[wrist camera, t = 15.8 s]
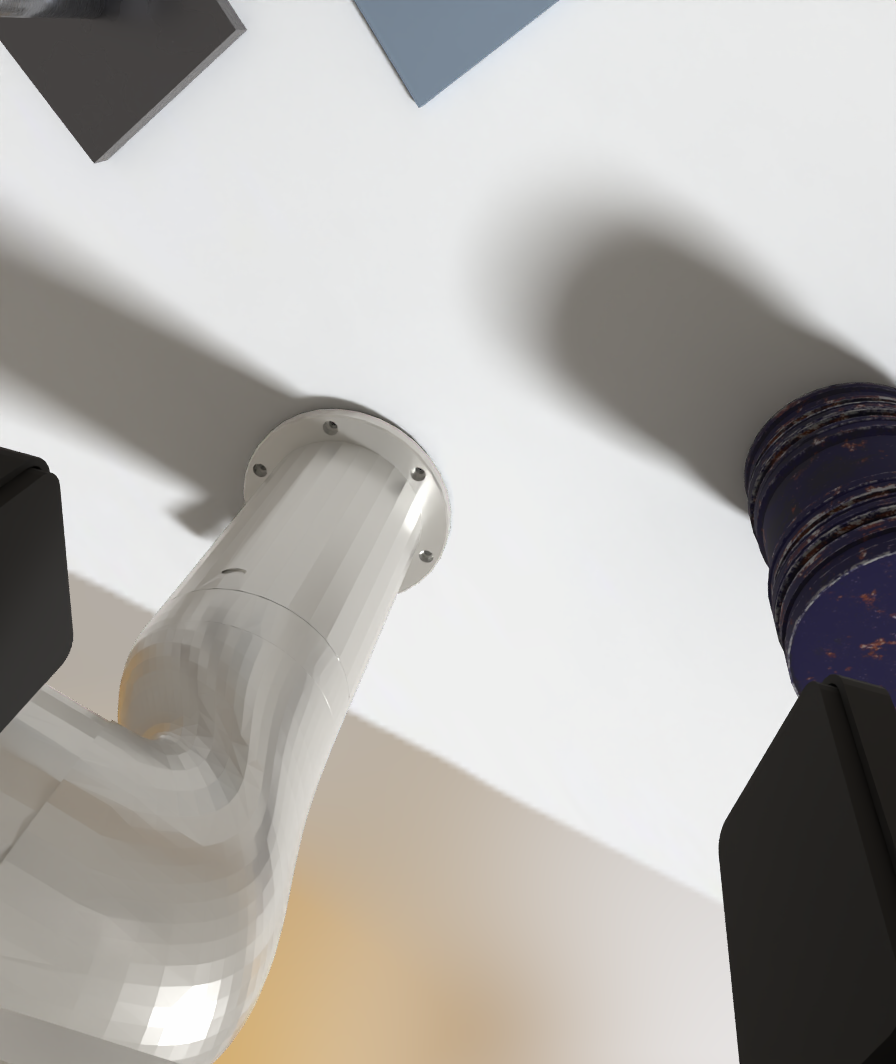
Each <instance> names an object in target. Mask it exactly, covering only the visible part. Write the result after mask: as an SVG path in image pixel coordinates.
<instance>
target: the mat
mask: <svg viewBox="0 0 896 1064" xmlns="http://www.w3.org/2000/svg"><path fill="white" fill-rule="evenodd" d="M354 1H355V2H356V4H357V6H358V7H359V9H360V11H361V12H362V14H363V16H364V17H365V19H366V21H367V22H368V24H369V26H370V27H371V29H372V31H373V32H374V34H375V36H376V37H377V39H378V41H379V42H380V44H381V46H382V47H383V49H384V51H385V52H386V54H387V56H388V57H389V59H390V61H391V62H392V64H393V66H394V67H395V69H396V71H397V72H398V74H399V76H400V77H401V79H402V81H403V82H404V84H405V86H406V87H407V89H408V91H409V92H410V94H411V96H412V97H413V99H414V101H415V102H416V104H417V106H418V107H419V108H420V107H422V106H423V105H425V104H426V103H427V102H428V101H430V100H431V99H432V98H434V97H435V96H436V95H437V94H439V93H440V92H441V91H443V90H444V89H445V88H446V87H448V86H449V85H450V84H452V83H453V82H454V81H456V80H457V79H458V78H459V77H461V76H462V75H463V74H465V73H466V72H467V71H468V70H470V69H471V68H472V67H474V66H475V65H476V64H477V63H479V62H480V61H481V60H483V59H484V58H485V57H486V56H488V55H489V54H490V53H492V52H493V51H494V50H496V49H497V48H498V47H499V46H501V45H502V44H503V43H505V42H506V41H507V40H508V39H510V38H511V37H512V36H514V35H515V34H516V33H517V32H519V31H520V30H521V29H523V28H524V27H525V26H526V25H528V24H529V23H530V22H532V21H533V20H534V19H536V18H537V17H538V16H539V15H541V14H542V13H543V12H545V11H546V10H547V9H548V8H550V7H551V6H552V5H554V4H555V3H556V2H557V1H559V0H354Z"/></svg>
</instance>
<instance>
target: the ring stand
mask: <svg viewBox="0 0 896 1064" xmlns="http://www.w3.org/2000/svg"><path fill="white" fill-rule="evenodd" d="M246 30H247V29H246V28H245V26H244V25H243V23H242V22H241V20H240V19H239V17H238V16H237V14H236V13H235V11H234V10H233V8H232V6H231V5H230V3H229V2H228V0H0V41H1V42H2V43H3V45H4V46H5V47H6V49H7V50H8V51H9V53H10V54H11V55H12V56H13V58H14V59H15V60H16V62H17V63H18V64H19V66H20V67H21V68H22V70H23V71H24V72H25V73H26V75H27V76H28V77H29V79H30V80H31V81H32V83H33V84H34V85H35V87H36V88H37V89H38V91H39V92H40V93H41V94H42V96H43V97H44V98H45V100H46V101H47V102H48V104H49V105H50V106H51V108H52V109H53V110H54V111H55V113H56V114H57V115H58V117H59V118H60V119H61V121H62V122H63V123H64V125H65V126H66V127H67V128H68V130H69V131H70V132H71V134H72V135H73V136H74V138H75V139H76V140H77V142H78V143H79V144H80V145H81V147H82V148H83V149H84V151H85V152H86V153H87V155H88V156H89V157H90V159H91V160H92V161H93V162H94V163H98V162H102V161H106V160H108V159H109V158H110V157H111V156H112V155H113V154H114V153H115V152H117V151H118V150H119V149H120V148H121V147H122V146H123V145H124V144H125V143H126V142H127V141H128V140H129V139H130V138H132V137H133V136H134V135H135V134H136V133H137V132H138V131H139V130H140V129H141V128H142V127H143V126H144V125H145V124H147V123H148V122H149V121H150V120H151V119H152V118H153V117H154V116H155V115H156V114H157V113H158V112H159V111H160V110H162V109H163V108H164V107H165V106H166V105H167V104H168V103H169V102H170V101H171V100H172V99H173V98H174V97H175V96H177V95H178V94H179V93H180V92H181V91H182V90H183V89H184V88H185V87H186V86H187V85H188V84H189V83H190V82H192V81H193V80H194V79H195V78H196V77H197V76H198V75H199V74H200V73H201V72H202V71H203V70H204V69H205V68H207V67H208V66H209V65H210V64H211V63H212V62H213V61H214V60H215V59H216V58H217V57H218V56H219V55H220V54H222V53H223V52H224V51H225V50H226V49H227V48H228V47H229V46H230V45H231V44H232V43H233V42H234V41H235V40H237V39H238V38H239V37H240V36H241V35H242V34H243V33H244V32H245V31H246Z"/></svg>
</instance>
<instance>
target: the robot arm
mask: <svg viewBox="0 0 896 1064" xmlns="http://www.w3.org/2000/svg"><path fill="white" fill-rule="evenodd" d="M331 421H332V422H334V423H335V424H336V425H334V424H333V423H332V422H331ZM418 468H421V469H423V471H421V470H419V469H418ZM243 493H244V501H245V506H244V507H243V508H242V509H241V511H240V512H239V513H238V514H237V516H236V517H235V518H234V519H233V520H232V522H231V523H230V524H229V525H228V527H227V528H226V529H225V530H224V531H223V533H222V534H221V535H220V536H219V538H218V539H217V540H216V541H215V542H214V544H213V545H212V546H211V547H210V549H209V550H208V551H207V552H206V553H205V555H204V556H203V557H202V558H201V559H200V561H199V562H198V563H197V564H196V566H195V567H194V568H193V569H192V570H191V572H190V573H189V574H188V575H187V577H186V578H185V579H184V580H183V581H182V583H181V584H180V585H179V586H178V588H177V589H176V590H175V591H174V592H173V594H172V595H171V596H170V597H169V599H168V600H167V601H166V602H165V603H164V605H163V606H162V607H161V608H160V610H159V611H158V612H157V613H156V614H155V616H154V617H153V618H152V619H151V621H150V622H149V623H148V624H147V626H146V627H145V628H144V629H143V631H142V632H141V634H140V635H139V637H138V638H137V640H136V641H135V644H134V645H133V647H132V649H131V651H130V654H129V656H128V658H127V661H126V664H125V667H124V671H123V675H122V679H121V684H120V689H119V700H118V723H116V722H115V721H113V720H112V721H108V720H106V719H105V718H103V717H101V716H100V715H98V714H96V713H94V712H93V711H91V710H89V709H88V708H86V707H84V706H83V705H81V704H79V703H78V702H76V701H74V700H73V699H71V698H69V697H68V696H66V695H64V694H63V693H61V692H59V691H58V690H56V689H54V688H52V687H51V686H49V685H47V684H46V682H47V681H48V680H49V678H50V677H51V676H52V675H53V674H54V673H55V672H56V671H57V670H58V669H59V667H60V666H61V665H62V664H63V663H64V661H65V660H66V658H67V656H68V654H69V652H70V649H71V647H72V642H73V628H72V616H71V605H70V594H69V582H68V571H67V559H66V548H65V537H64V526H63V514H62V503H61V492H60V484H59V480H58V478H57V476H56V475H55V474H53V473H50V471H49V467H48V465H47V463H46V462H45V461H44V460H43V459H41V458H39V457H36V456H32V455H28V454H25V453H21V452H17V451H14V450H10V449H6V448H3V447H0V1064H212V1063H214V1062H215V1061H216V1060H217V1058H219V1057H220V1056H221V1054H222V1053H223V1052H224V1051H225V1050H226V1049H227V1048H228V1047H229V1045H230V1044H231V1043H232V1041H233V1040H234V1038H235V1037H236V1036H237V1034H238V1033H239V1031H240V1029H241V1028H242V1027H243V1025H244V1024H245V1022H246V1020H247V1019H248V1017H249V1015H250V1013H251V1012H252V1010H253V1008H254V1006H255V1004H256V1002H257V1000H258V997H259V995H260V993H261V990H262V987H263V985H264V983H265V980H266V978H267V975H268V973H269V971H270V968H271V965H272V962H273V959H274V957H275V953H276V949H277V946H278V942H279V938H280V934H281V931H282V927H283V923H284V918H285V914H286V909H287V904H288V899H289V894H290V889H291V884H292V879H293V874H294V869H295V865H296V860H297V855H298V851H299V847H300V842H301V838H302V833H303V830H304V827H305V823H306V820H307V816H308V813H309V810H310V807H311V804H312V801H313V798H314V795H315V792H316V789H317V786H318V783H319V780H320V778H321V775H322V772H323V770H324V767H325V765H326V762H327V760H328V757H329V754H330V752H331V750H332V747H333V745H334V742H335V740H336V737H337V735H338V732H339V730H340V728H341V726H342V723H343V721H344V718H345V716H346V714H347V712H348V709H349V707H350V705H351V702H352V700H353V698H354V695H355V693H356V691H357V688H358V686H359V683H360V681H361V679H362V676H363V674H364V672H365V669H366V667H367V664H368V662H369V660H370V657H371V655H372V653H373V650H374V648H375V645H376V643H377V641H378V638H379V636H380V634H381V631H382V629H383V626H384V624H385V622H386V619H387V617H388V615H389V612H390V610H391V607H392V605H393V603H394V600H395V598H396V596H397V594H399V593H402V592H404V591H406V590H408V589H410V588H411V587H413V586H415V585H416V584H418V583H420V582H421V581H422V580H423V579H424V578H425V577H426V576H427V575H428V574H429V573H430V572H431V571H432V570H433V568H434V567H435V565H436V564H437V563H438V561H439V560H440V558H441V556H442V553H443V551H444V548H445V546H446V543H447V539H448V536H449V532H450V528H451V507H450V502H449V496H448V491H447V489H446V487H445V484H444V482H443V479H442V477H441V474H440V473H439V471H438V469H437V468H436V466H435V465H434V463H433V462H432V460H431V458H430V457H429V456H428V455H427V454H426V453H425V452H424V450H423V449H422V448H421V447H420V446H419V445H418V444H417V443H416V442H415V441H414V440H413V439H411V438H410V437H409V436H407V435H406V434H405V433H403V432H402V431H401V430H400V429H398V428H396V427H394V426H393V425H391V424H389V423H387V422H385V421H383V420H381V419H379V418H376V417H373V416H370V415H367V414H364V413H361V412H357V411H350V410H344V409H318V410H314V411H310V412H306V413H302V414H299V415H296V416H294V417H292V418H290V419H288V420H286V421H284V422H282V423H281V424H280V425H279V426H277V427H276V428H275V429H274V430H272V431H271V432H270V433H269V434H268V435H267V436H266V437H265V439H264V440H263V441H262V442H261V443H260V444H259V445H258V447H257V449H256V450H255V452H254V453H253V455H252V457H251V458H250V461H249V464H248V467H247V470H246V473H245V479H244V491H243ZM719 862H720V872H721V882H722V892H723V902H724V912H725V922H726V932H727V941H728V952H729V962H730V972H731V982H732V992H733V1002H734V1012H735V1022H736V1031H737V1042H738V1052H739V1062H740V1064H896V710H895V707H894V705H893V702H892V699H891V697H890V695H889V693H888V691H887V690H886V689H885V688H883V687H881V686H878V685H874V684H870V683H867V682H863V681H859V680H856V679H852V678H848V677H845V676H841V675H837V674H830V675H829V676H828V677H826V678H825V679H824V680H823V682H822V683H819V682H816V681H811V682H809V683H808V684H807V685H806V686H805V688H804V689H803V691H802V692H801V694H800V696H799V697H798V699H797V701H796V702H795V704H794V706H793V707H792V709H791V711H790V712H789V714H788V716H787V717H786V719H785V721H784V723H783V724H782V726H781V728H780V729H779V731H778V733H777V734H776V736H775V738H774V739H773V741H772V743H771V744H770V746H769V748H768V749H767V751H766V753H765V755H764V756H763V758H762V760H761V761H760V763H759V765H758V766H757V768H756V770H755V771H754V773H753V775H752V776H751V778H750V780H749V781H748V783H747V785H746V787H745V788H744V790H743V792H742V793H741V795H740V797H739V798H738V800H737V802H736V803H735V805H734V807H733V808H732V810H731V812H730V813H729V815H728V817H727V819H726V820H725V822H724V824H723V827H722V830H721V834H720V839H719Z"/></svg>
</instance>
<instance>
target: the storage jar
mask: <svg viewBox="0 0 896 1064" xmlns="http://www.w3.org/2000/svg"><path fill="white" fill-rule="evenodd" d="M744 479H745V489H746V493H747V498H748V512H749V516H750V520H751V525H752V529H753V533H754V535H755V538H756V540H757V542H758V544H759V548H760V552H761V554H762V556H763V558H764V560H765V563H766V564H767V566H768V567H769V578H768V598H769V602H770V606H771V610H772V614H773V618H774V622H775V627H776V631H777V635H778V639H779V642H780V645H781V647H782V649H783V651H784V654H785V658H786V663H787V667H788V671H789V675H790V679H791V683H792V685H793V688H794V690H795V692H796V694H797V696H798V697H799V696H800V694H801V692H802V691H803V689H804V688H805V686H806V685H807V684H808V683H809V682H811V681H816V682H819V683H822V682H823V680H824V679H825V678H826V677H828V676H829V675H830V674H837V675H841V676H845V677H848V678H852V679H856V680H859V681H863V682H867V683H870V684H874V685H878V686H881V687H883V688H885V689H886V690H887V691H888V693H889V695H890V697H891V699H892V702H893V705H894V707H895V710H896V389H895V388H892V387H889V386H886V385H880V384H874V383H845V384H837V385H832V386H829V387H825V388H821V389H818V390H815V391H813V392H810V393H808V394H806V395H803V396H801V397H800V398H798V399H796V400H794V401H793V402H791V403H789V404H788V405H786V406H785V407H784V408H782V409H781V410H780V411H779V412H777V413H776V414H775V415H774V416H773V417H772V418H771V419H770V420H769V421H768V422H767V423H766V424H765V425H764V427H763V428H762V429H761V431H760V432H759V433H758V435H757V436H756V438H755V440H754V442H753V444H752V446H751V448H750V450H749V454H748V457H747V460H746V465H745V472H744Z"/></svg>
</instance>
